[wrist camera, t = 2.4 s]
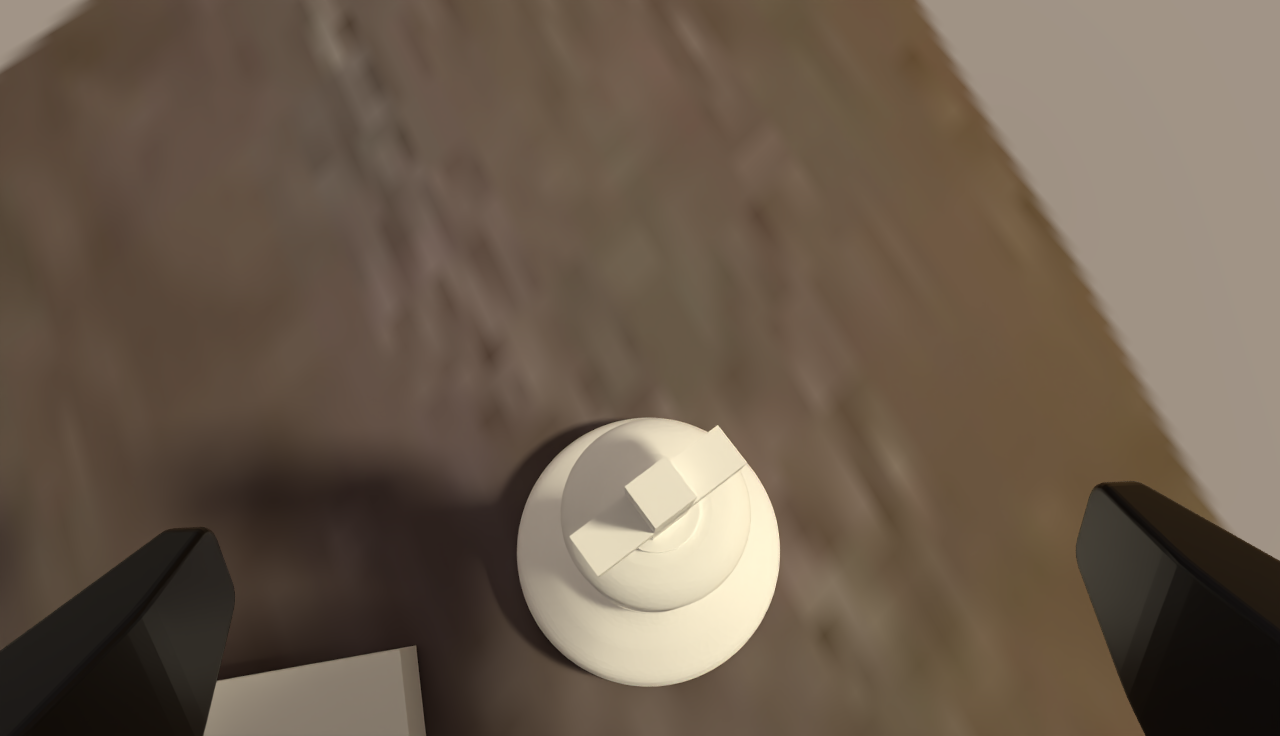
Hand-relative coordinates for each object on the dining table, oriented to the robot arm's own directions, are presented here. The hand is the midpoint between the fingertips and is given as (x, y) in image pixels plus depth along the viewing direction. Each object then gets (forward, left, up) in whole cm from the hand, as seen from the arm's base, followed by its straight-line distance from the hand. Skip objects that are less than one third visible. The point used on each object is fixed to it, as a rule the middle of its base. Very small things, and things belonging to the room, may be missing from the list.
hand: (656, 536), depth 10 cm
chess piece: (0, 0, -8) cm, 8 cm away
